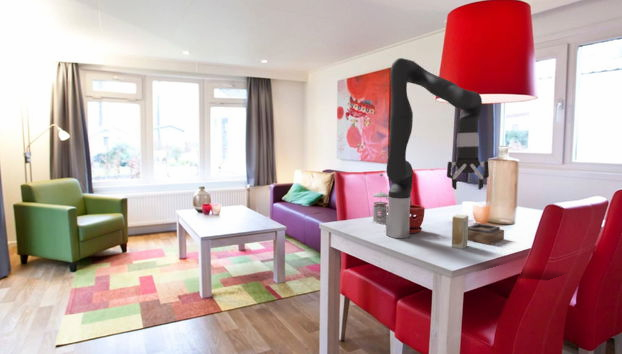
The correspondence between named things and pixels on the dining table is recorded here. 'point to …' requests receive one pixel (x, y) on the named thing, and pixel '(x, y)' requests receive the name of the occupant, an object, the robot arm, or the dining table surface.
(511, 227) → the dining table surface
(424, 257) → the dining table surface
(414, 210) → the plant pot
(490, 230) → the walnut stand
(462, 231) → the skincare box
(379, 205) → the french press
